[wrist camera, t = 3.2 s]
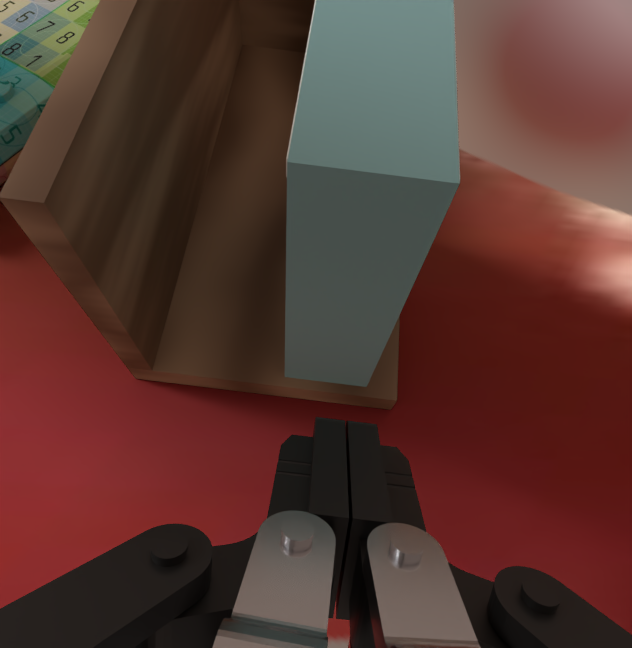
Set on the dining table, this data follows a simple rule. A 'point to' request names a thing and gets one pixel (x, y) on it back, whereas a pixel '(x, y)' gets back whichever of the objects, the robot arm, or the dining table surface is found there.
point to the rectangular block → (366, 177)
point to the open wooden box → (179, 191)
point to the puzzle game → (33, 64)
